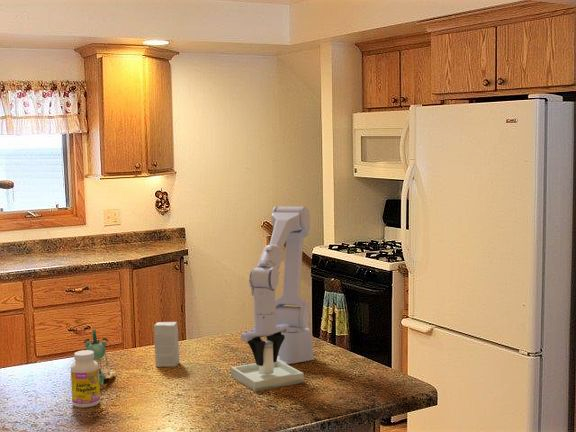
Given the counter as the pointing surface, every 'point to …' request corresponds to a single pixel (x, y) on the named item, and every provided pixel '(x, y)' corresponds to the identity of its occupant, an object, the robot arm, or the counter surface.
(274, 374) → the tray
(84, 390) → the supplement bottle
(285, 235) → the robot arm
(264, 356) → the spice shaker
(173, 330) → the skincare box
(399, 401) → the counter surface
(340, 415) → the counter surface
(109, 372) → the frog figurine
